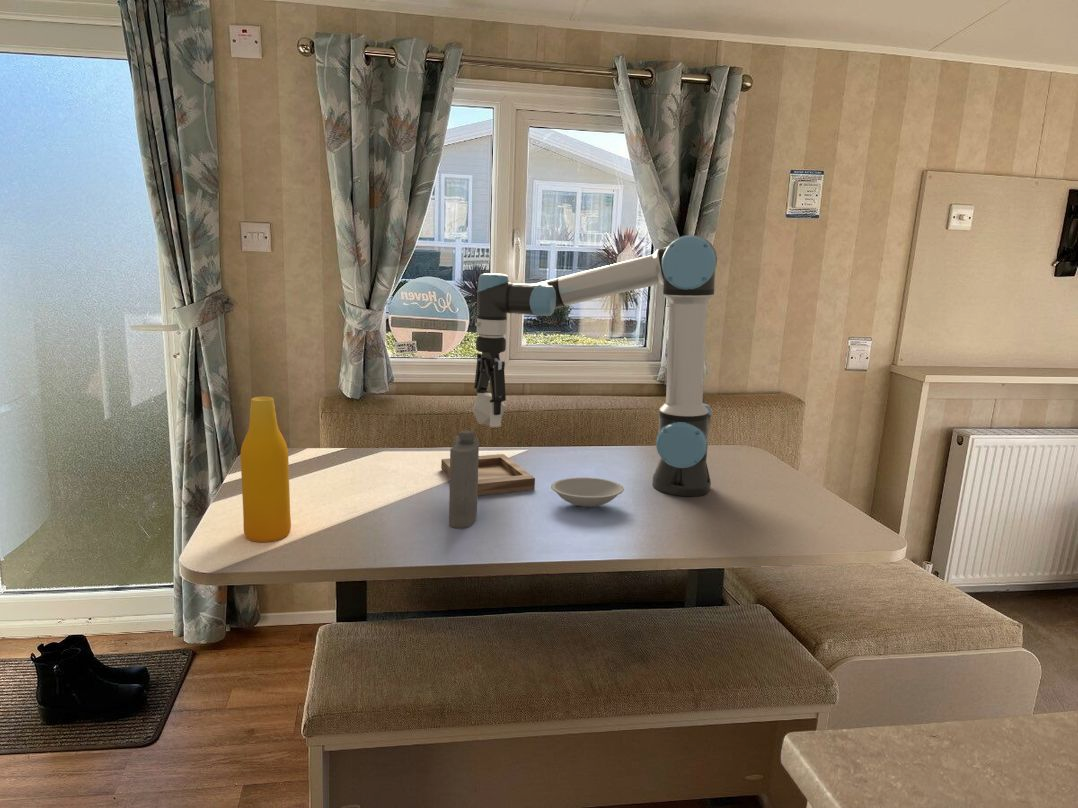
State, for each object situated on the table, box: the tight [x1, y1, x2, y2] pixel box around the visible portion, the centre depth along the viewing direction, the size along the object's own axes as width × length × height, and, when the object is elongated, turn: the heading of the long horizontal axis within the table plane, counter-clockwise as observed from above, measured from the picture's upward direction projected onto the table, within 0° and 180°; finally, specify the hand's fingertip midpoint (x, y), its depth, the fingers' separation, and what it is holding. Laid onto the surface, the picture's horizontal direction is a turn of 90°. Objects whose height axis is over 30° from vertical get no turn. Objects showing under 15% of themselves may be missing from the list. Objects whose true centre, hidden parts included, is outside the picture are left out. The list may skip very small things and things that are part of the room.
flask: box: [448, 429, 480, 529], centre depth 167 cm, size 15×6×20 cm, turn 1°
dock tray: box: [440, 453, 536, 496], centre depth 195 cm, size 22×18×3 cm
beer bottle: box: [239, 396, 292, 543], centre depth 151 cm, size 9×9×29 cm
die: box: [471, 392, 507, 425], centre depth 191 cm, size 8×9×10 cm
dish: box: [550, 476, 625, 509], centre depth 178 cm, size 18×14×5 cm
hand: (488, 421), depth 192 cm, fingers closed on die, 9 cm apart
